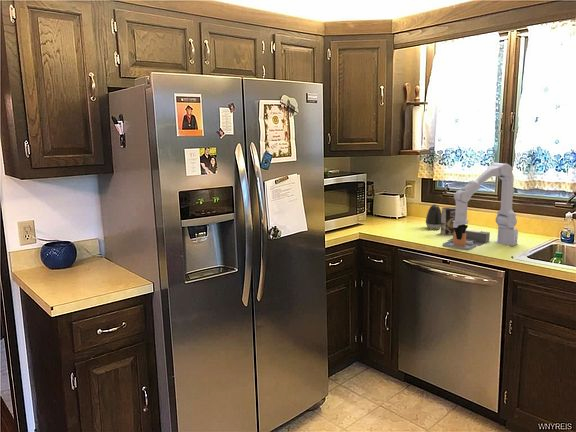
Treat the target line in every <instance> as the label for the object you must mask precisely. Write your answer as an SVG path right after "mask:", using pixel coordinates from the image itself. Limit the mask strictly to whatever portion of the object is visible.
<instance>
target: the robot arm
mask: <svg viewBox="0 0 576 432" xmlns="http://www.w3.org/2000/svg"><path fill="white" fill-rule="evenodd" d="M492 177H498V178H499V179H500V180H501V191H500V192H501V193H500V194H501V195H500V209H499V210H498V211H497V213H496V214H497V215H496V216H495V223H496V224H497V240H496V241H495V242H494V243H495V244H501V245H508V246H509V247H510V246H511V247H513V246H515V245H517V244H518V238H519V237H518V235H519V230H518V228H515V227H516V225H517V221H518V219H517V217H516V215H517V214H516V213H515V212H514V210H513V195H514V181H515V179H514V178H515V177H514V174H513V167H512V166H511V165H510V164H509V163H501V162H500V163H499V162H492V163H490V165H488V166H487V168H486V169H485V171H483V172H482V174H481V175H479V177H477V178H476V179H475V180H469V181H468V182H467V184H466V185H465V186H464V187H462V188H461V189H459V190H456V192H455V193H454V195H453V199H454V201H455V207H456V210H455V221H453V222H454V224H453V228H454V230H455V233H456V238H457V239H459V240H461V238H462V233H465V231H466V229H468V227H469V225H468V224H469V220H468V202H469V201H470V200H471V198H472V196H473V195H475V193H477V192H478V191H479V190H480V189H481V188H480V187H481V185H482V184H485V182H486V181H488V180H489V179H490V178H492Z"/></svg>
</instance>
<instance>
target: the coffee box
mask: <svg viewBox="0 0 576 432" xmlns="http://www.w3.org/2000/svg"><path fill="white" fill-rule="evenodd" d="M455 210H456V206H455V207H454V206H452V207H451V206H450V207H449V206H448V207H442V208H441V213H442V216H441V227H440V234H441V235H443V236H454V228H453V224H454V222H453V221H455Z"/></svg>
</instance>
